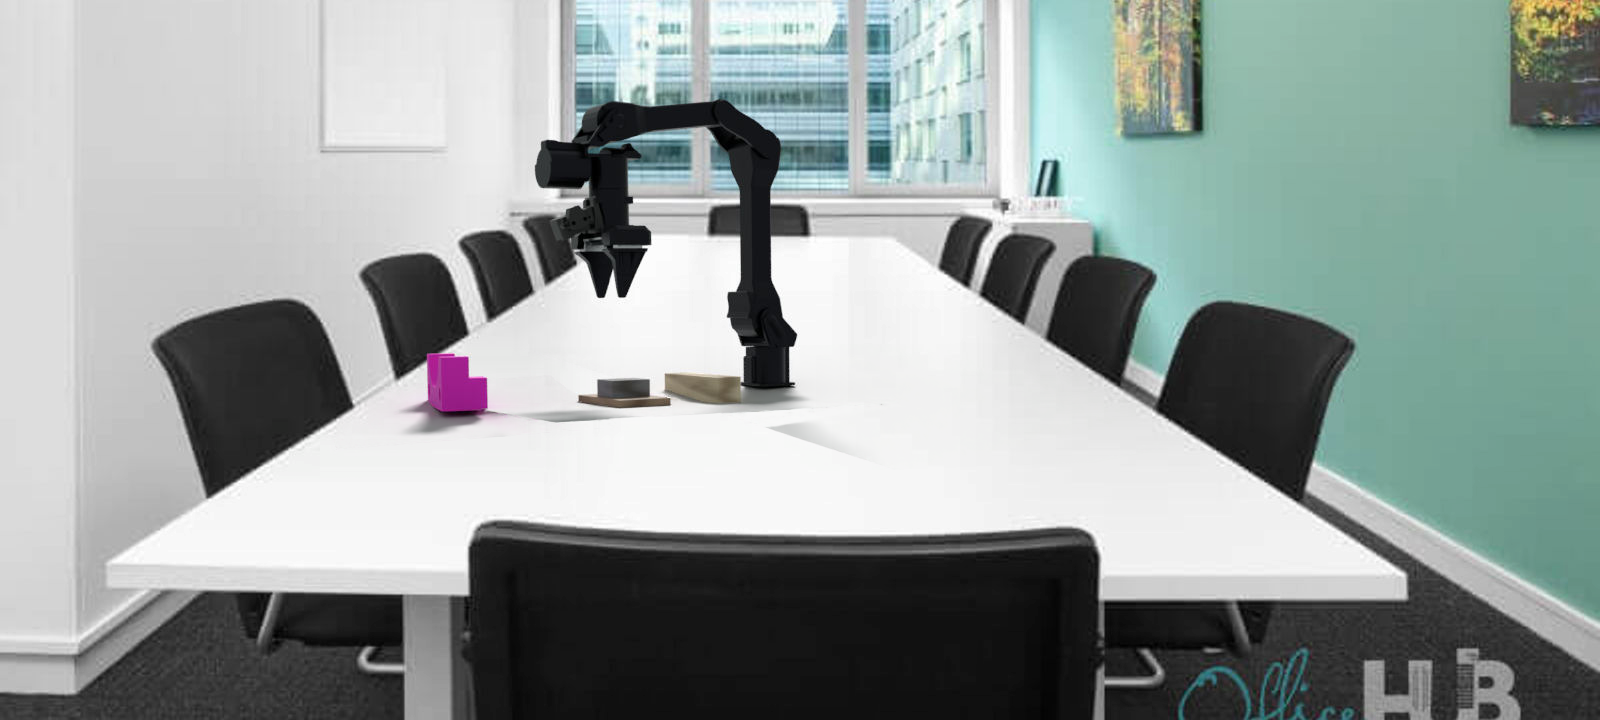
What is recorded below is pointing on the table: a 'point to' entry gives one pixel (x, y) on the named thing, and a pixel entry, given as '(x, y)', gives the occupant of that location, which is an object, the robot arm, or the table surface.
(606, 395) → the fulcrum stand
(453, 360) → the toy block
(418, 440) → the table surface
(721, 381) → the beam
